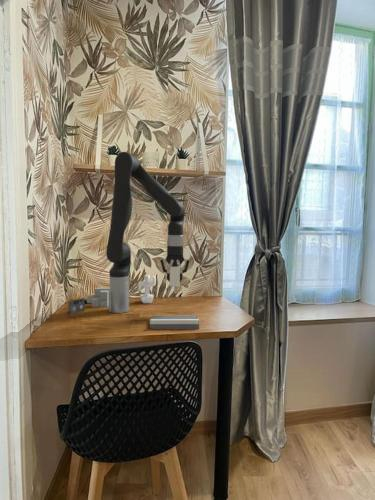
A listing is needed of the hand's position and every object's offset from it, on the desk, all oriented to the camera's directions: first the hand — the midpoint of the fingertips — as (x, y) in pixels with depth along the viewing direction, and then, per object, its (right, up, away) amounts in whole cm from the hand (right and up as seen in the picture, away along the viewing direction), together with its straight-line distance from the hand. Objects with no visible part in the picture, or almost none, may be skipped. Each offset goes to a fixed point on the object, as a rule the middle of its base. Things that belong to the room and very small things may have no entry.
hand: (174, 281), depth 145 cm
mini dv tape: (-47, -16, +4) cm, 50 cm away
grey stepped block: (-42, -15, +20) cm, 48 cm away
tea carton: (0, -2, 0) cm, 2 cm away
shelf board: (+1, -17, -13) cm, 21 cm away
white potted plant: (-16, -14, +24) cm, 33 cm away
